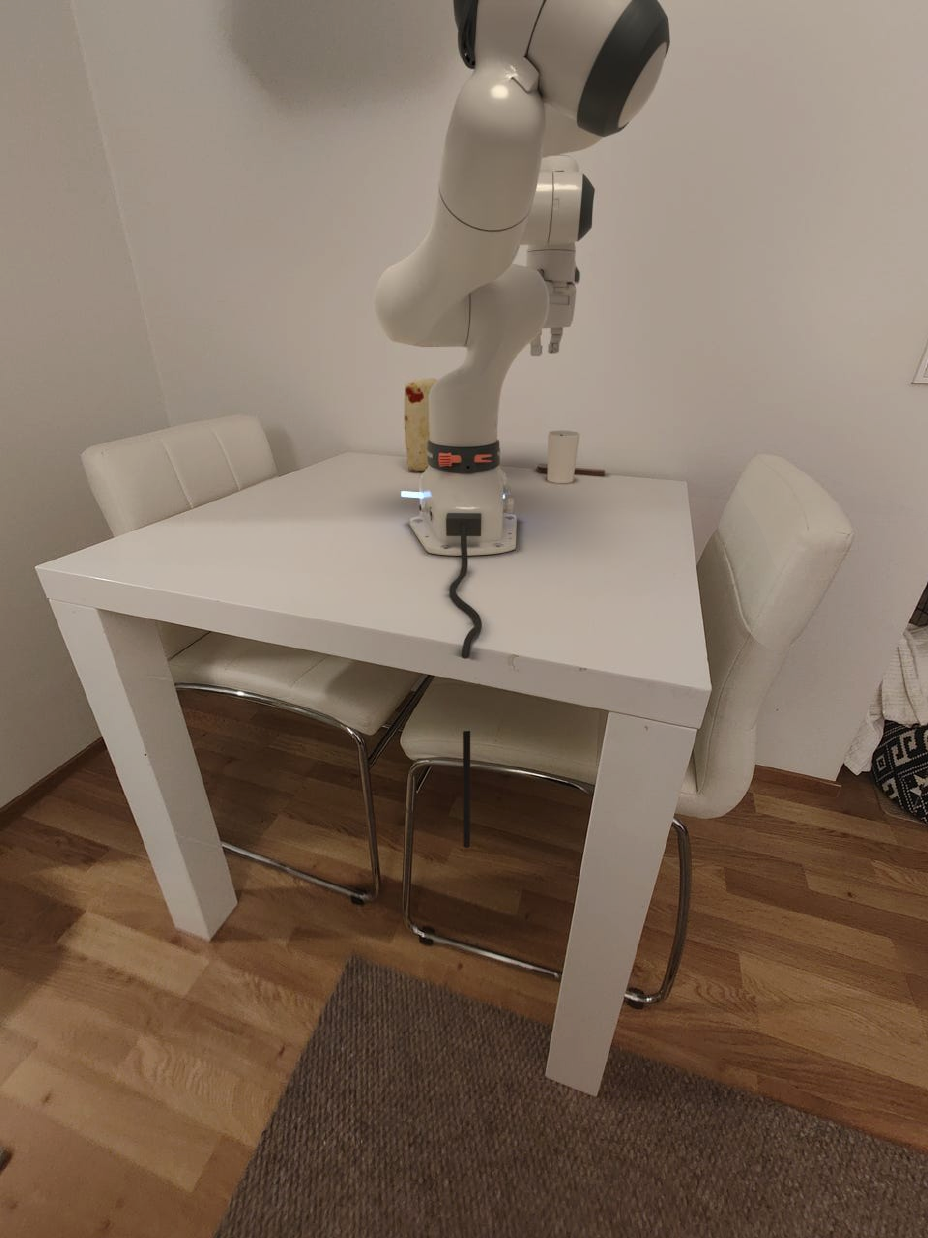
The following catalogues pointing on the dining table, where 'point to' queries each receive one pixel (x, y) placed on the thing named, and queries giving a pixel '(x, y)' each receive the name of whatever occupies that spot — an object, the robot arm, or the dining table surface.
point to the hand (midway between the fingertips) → (545, 354)
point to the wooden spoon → (544, 469)
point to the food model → (417, 422)
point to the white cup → (562, 455)
